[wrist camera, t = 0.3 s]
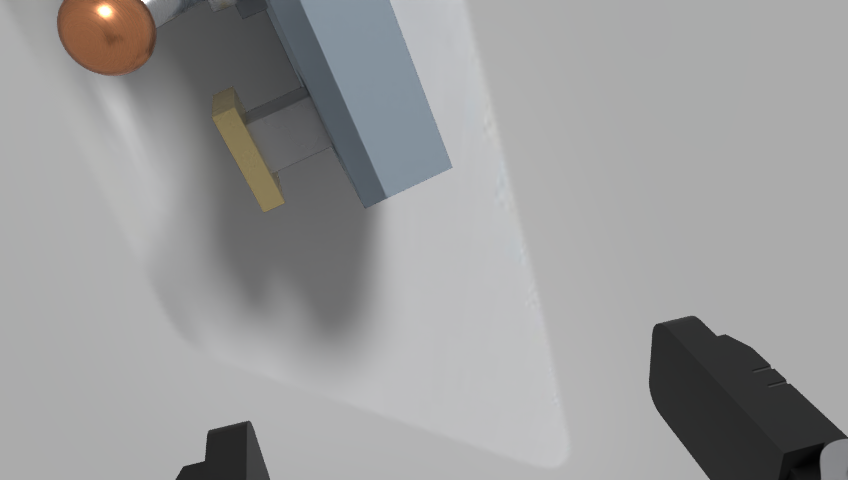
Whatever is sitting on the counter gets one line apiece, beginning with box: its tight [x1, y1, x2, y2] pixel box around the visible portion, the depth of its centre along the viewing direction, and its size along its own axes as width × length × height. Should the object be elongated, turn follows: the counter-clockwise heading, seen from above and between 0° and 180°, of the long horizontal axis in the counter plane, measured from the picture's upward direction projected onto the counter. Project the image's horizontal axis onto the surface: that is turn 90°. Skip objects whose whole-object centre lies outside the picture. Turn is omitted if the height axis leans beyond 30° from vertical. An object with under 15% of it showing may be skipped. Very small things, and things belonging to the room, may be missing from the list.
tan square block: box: [212, 86, 333, 212], centre depth 30 cm, size 5×4×5 cm
